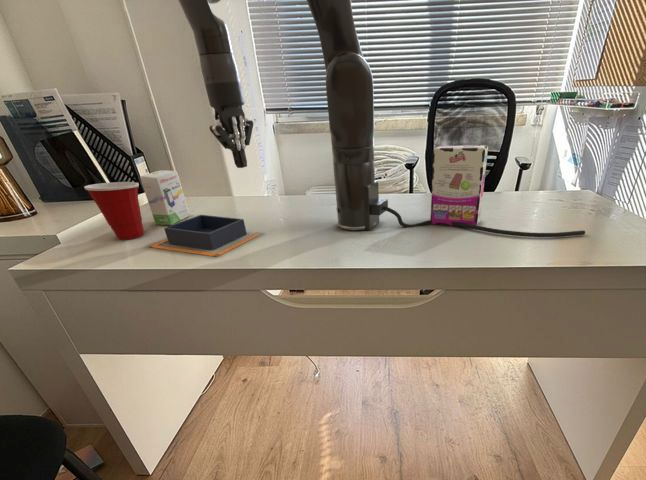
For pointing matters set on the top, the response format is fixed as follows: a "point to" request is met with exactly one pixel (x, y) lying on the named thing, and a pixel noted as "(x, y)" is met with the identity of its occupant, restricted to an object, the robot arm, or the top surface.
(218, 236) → the dark blue tray
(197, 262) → the top surface
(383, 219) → the top surface
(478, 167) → the candy bar box
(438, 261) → the top surface
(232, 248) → the tape marks
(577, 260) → the top surface
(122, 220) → the plastic cup
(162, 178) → the ink box
